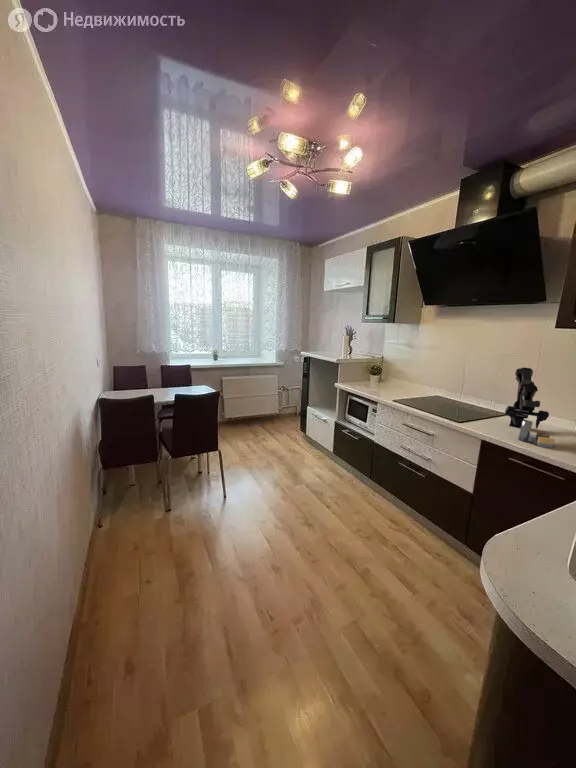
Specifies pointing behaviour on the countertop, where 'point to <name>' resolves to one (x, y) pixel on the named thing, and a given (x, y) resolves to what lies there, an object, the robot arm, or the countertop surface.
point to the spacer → (525, 431)
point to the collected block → (542, 435)
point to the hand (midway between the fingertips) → (526, 426)
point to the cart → (542, 441)
